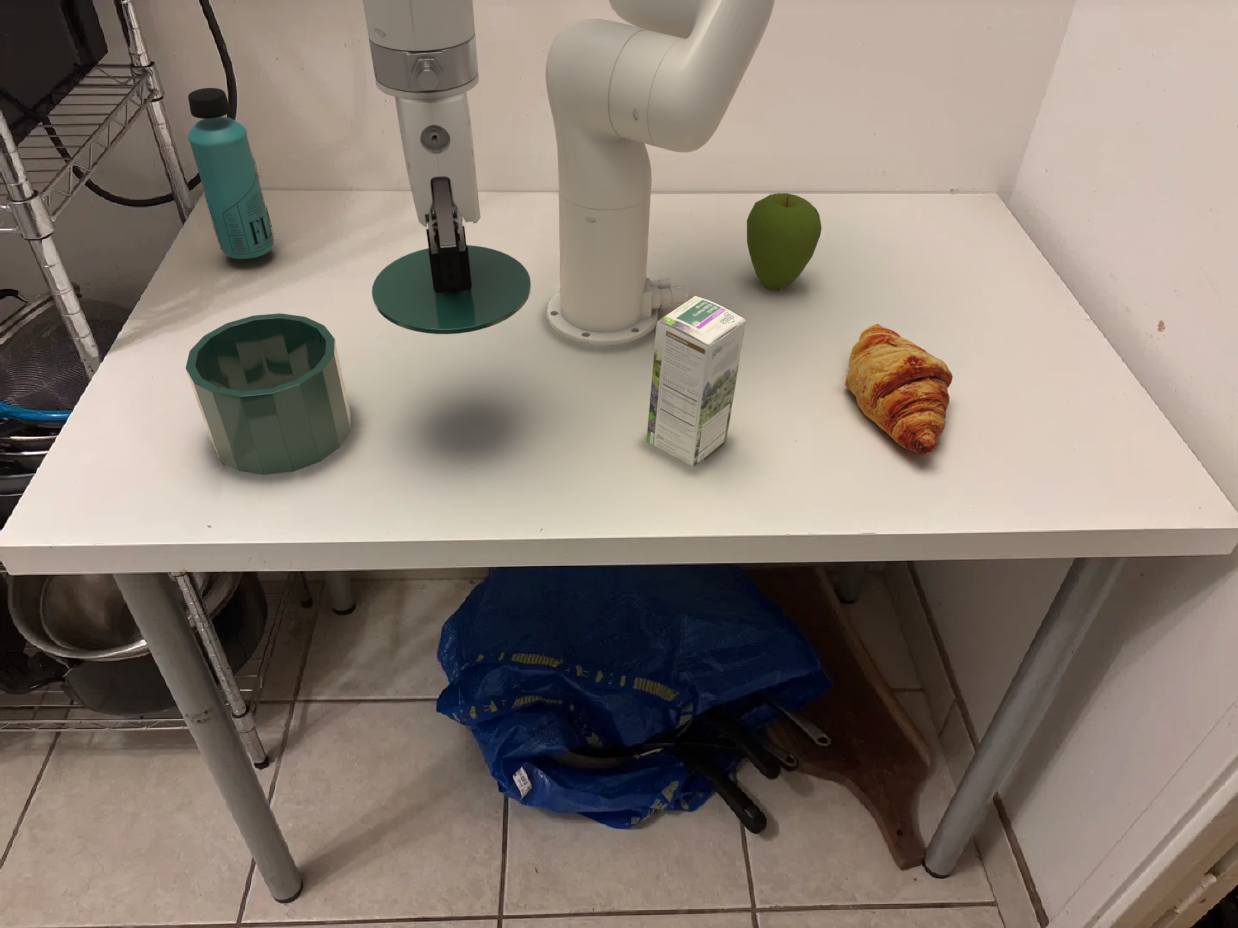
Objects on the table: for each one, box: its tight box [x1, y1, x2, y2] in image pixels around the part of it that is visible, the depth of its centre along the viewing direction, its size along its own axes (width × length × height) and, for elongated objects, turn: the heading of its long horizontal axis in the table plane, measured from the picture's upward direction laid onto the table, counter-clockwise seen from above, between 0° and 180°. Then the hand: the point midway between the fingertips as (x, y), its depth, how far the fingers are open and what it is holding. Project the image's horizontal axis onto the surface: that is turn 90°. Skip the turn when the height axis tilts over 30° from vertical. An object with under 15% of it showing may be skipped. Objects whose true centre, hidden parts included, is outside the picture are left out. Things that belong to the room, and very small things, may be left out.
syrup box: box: [645, 295, 747, 467], centre depth 85 cm, size 6×6×14 cm
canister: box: [185, 312, 352, 476], centre depth 86 cm, size 13×13×10 cm
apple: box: [746, 192, 823, 291], centre depth 109 cm, size 9×8×12 cm
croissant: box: [844, 323, 953, 455], centre depth 94 cm, size 21×10×8 cm, turn 3°
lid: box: [371, 225, 532, 335], centre depth 79 cm, size 14×14×7 cm
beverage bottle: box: [187, 87, 276, 260], centre depth 107 cm, size 6×7×20 cm
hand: (451, 278), depth 80 cm, fingers closed on lid, 2 cm apart
